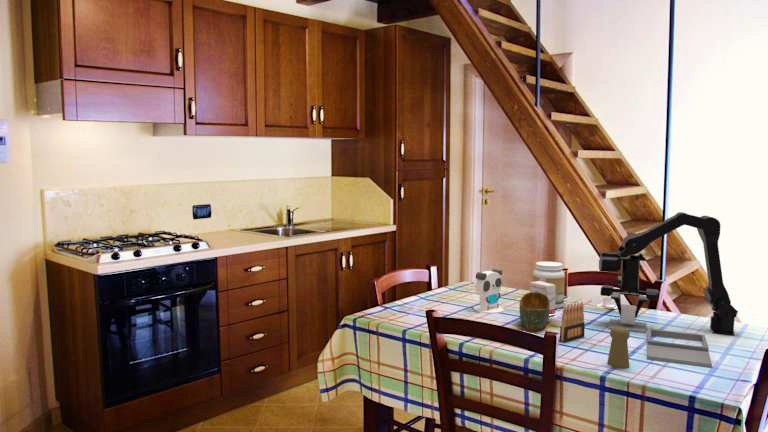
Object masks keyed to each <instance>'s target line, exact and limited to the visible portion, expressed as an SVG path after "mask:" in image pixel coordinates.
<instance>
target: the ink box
mask: <svg viewBox="0 0 768 432" xmlns="http://www.w3.org/2000/svg"><path fill="white" fill-rule="evenodd" d="M529 288H530V289H529V293H530V292H536V291H537V292H539V293H542V294H544V295H546V296H547V297H548V298H549V302H550V308H549V314H554V313H555V314H556V309H555V285H554V284H550V283H546V282H541V281H536V282H533V281H530V282H529Z"/></svg>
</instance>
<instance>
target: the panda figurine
mask: <svg viewBox="0 0 768 432" xmlns="http://www.w3.org/2000/svg"><path fill="white" fill-rule="evenodd" d="M502 275H503V271H502V270H500V269H495V268H492V270H484V271H482V272H478V271H477V272H476V274H475V279H476V282H475V291H476V293H477V295H478V296H479V305H475V306H474V307H473V310H474V311H476V312H478V313H482V314H500V313H503V312H504V311H505V309H504V308H503V307H501V306H499V300H500V298H501V292H500V291H501V289H502V284H503V282H502Z"/></svg>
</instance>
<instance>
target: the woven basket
mask: <svg viewBox="0 0 768 432" xmlns="http://www.w3.org/2000/svg"><path fill="white" fill-rule="evenodd" d="M549 308H550V302H549V298H548V297H547V296H546V295H544V294H542V293H539V292H537V291H536V292H530V291H529V292H526V293H525V294H524V295H522V296H521V298H520V300H519V317H520V318H519V319H520V321H521V325H522V327H523V328H524V329H525V330H528V331H531V332H539V330H540V331H542V330H544V329H545V328H546V327H547V323H549V322H548V321H549ZM543 328H544V329H543Z"/></svg>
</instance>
